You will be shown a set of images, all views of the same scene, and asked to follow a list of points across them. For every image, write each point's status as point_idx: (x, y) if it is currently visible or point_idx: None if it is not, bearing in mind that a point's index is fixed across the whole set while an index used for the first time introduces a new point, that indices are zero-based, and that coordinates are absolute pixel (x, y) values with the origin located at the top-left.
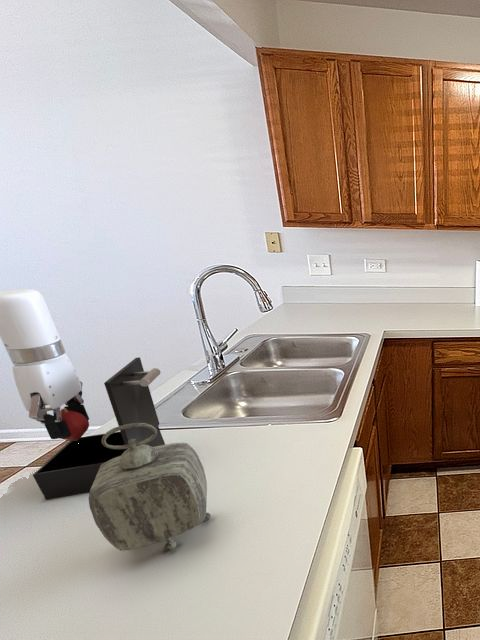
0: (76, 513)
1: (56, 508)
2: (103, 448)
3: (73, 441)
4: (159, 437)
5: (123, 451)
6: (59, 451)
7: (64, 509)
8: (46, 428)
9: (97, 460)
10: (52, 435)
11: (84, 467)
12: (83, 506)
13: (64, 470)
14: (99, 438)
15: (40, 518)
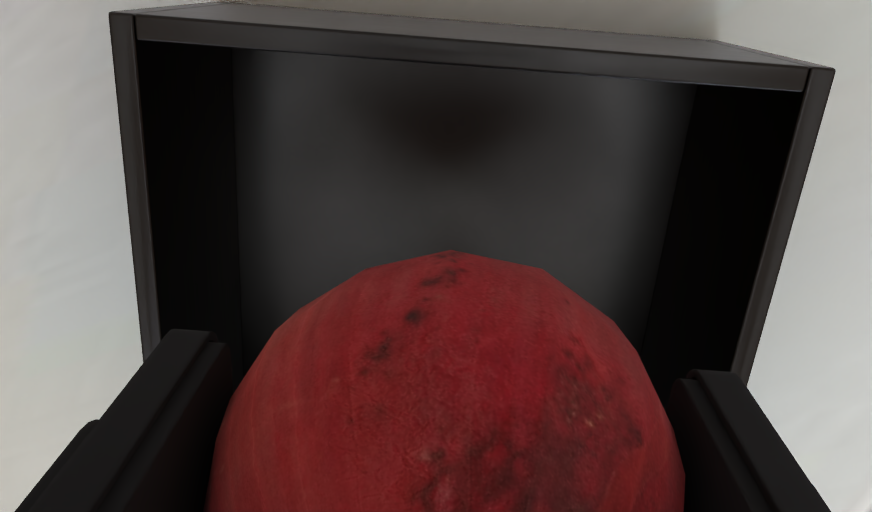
0: (24, 258)
1: (100, 120)
2: (692, 241)
3: (763, 89)
4: None
5: (653, 327)
6: (543, 59)
7: (79, 174)
8: (75, 454)
9: (634, 167)
10: (89, 430)
11: None
12: (86, 270)
13: (135, 261)
14: (734, 286)
15: (13, 69)
